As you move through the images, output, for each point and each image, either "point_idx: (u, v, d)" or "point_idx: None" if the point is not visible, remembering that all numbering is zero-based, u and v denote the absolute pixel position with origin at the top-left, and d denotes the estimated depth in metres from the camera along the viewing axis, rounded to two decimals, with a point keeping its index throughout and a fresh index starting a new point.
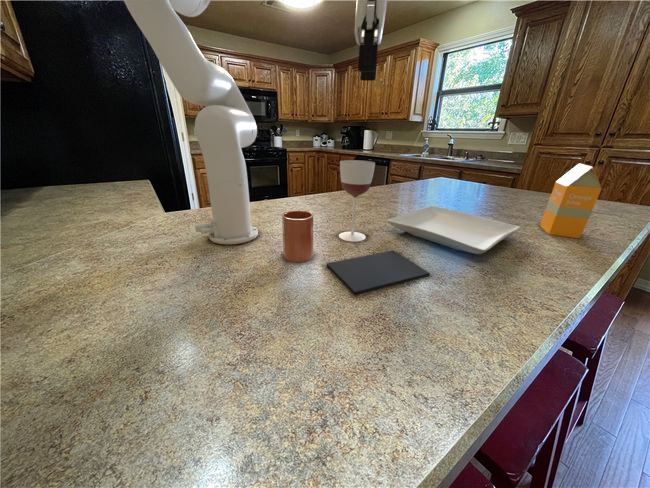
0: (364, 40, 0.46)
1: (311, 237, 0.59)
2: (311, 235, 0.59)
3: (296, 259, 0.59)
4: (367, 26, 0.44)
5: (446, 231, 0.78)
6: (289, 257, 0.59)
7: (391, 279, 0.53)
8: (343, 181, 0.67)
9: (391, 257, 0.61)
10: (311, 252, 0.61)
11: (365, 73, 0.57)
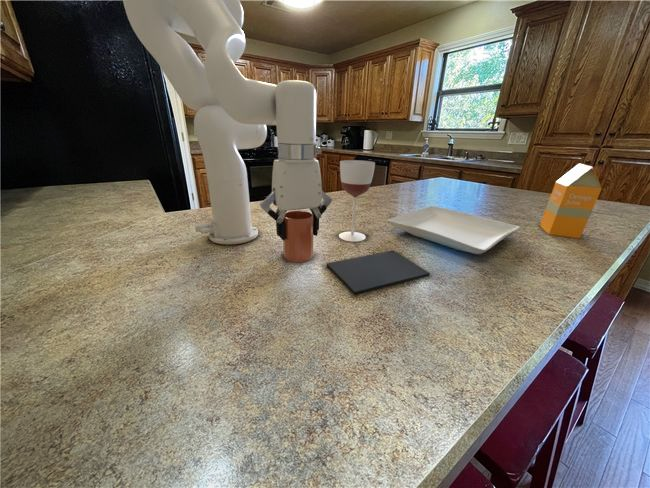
0: None
1: (311, 237, 0.59)
2: (311, 235, 0.59)
3: (296, 259, 0.59)
4: (268, 214, 0.56)
5: (446, 231, 0.78)
6: (289, 257, 0.59)
7: (391, 279, 0.53)
8: (343, 181, 0.67)
9: (391, 257, 0.61)
10: (311, 252, 0.61)
11: None
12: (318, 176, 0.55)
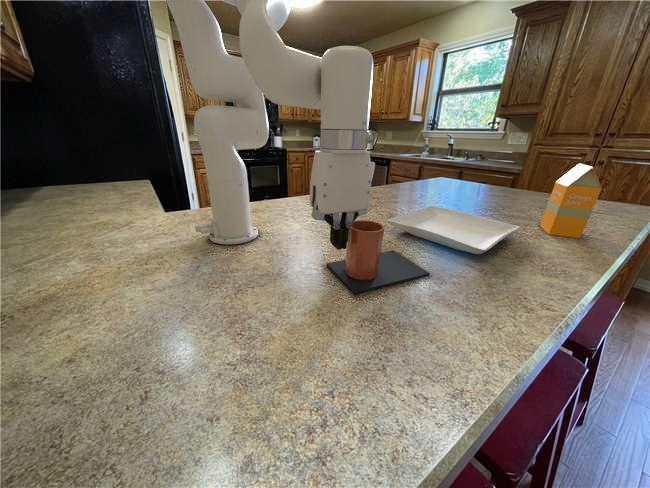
0: None
1: (380, 251, 0.52)
2: (380, 249, 0.52)
3: (363, 276, 0.52)
4: None
5: (446, 230, 0.78)
6: (354, 274, 0.52)
7: (391, 279, 0.53)
8: None
9: (391, 257, 0.61)
10: (378, 268, 0.53)
11: None
12: (369, 171, 0.44)
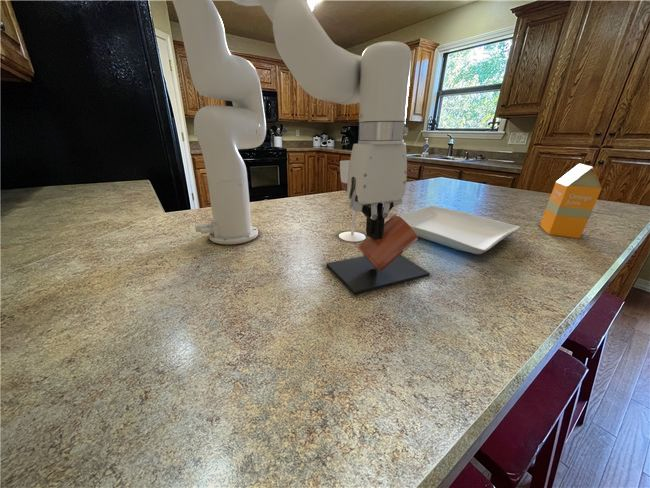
0: (365, 215, 0.50)
1: None
2: (401, 253, 0.53)
3: (375, 260, 0.51)
4: (361, 210, 0.49)
5: (446, 230, 0.78)
6: (370, 253, 0.51)
7: (391, 279, 0.53)
8: (343, 181, 0.67)
9: None
10: None
11: None
12: (405, 161, 0.46)
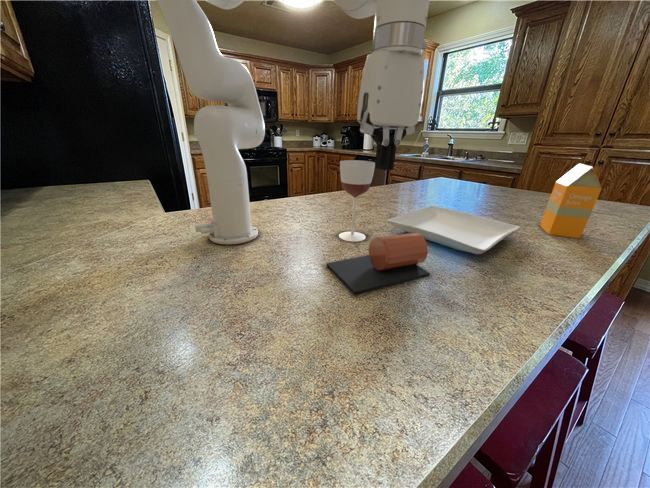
0: (375, 143, 0.46)
1: (404, 265, 0.55)
2: (406, 265, 0.56)
3: (388, 252, 0.52)
4: (372, 135, 0.45)
5: (446, 230, 0.78)
6: (387, 244, 0.53)
7: (391, 279, 0.53)
8: (343, 181, 0.67)
9: None
10: (388, 268, 0.54)
11: None
12: (422, 79, 0.42)
